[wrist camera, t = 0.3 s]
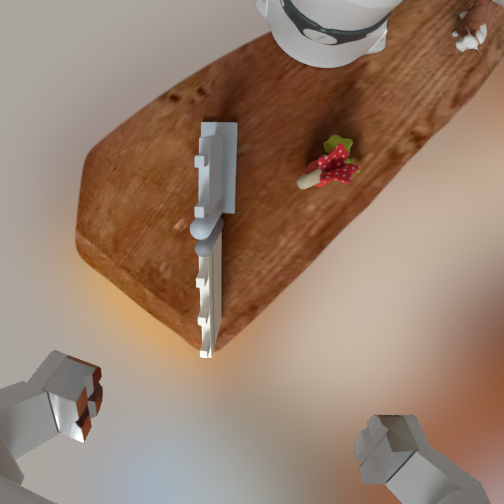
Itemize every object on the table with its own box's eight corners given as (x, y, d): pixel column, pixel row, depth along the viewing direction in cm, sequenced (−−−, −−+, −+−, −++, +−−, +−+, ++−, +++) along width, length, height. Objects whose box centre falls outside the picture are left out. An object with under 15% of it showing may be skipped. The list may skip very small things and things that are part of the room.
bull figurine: (433, 49, 35) (460, 39, 28) (465, 1, 30) (490, -12, 23) (454, 68, 36) (482, 62, 28) (483, 19, 31) (510, 10, 23)
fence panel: (211, 216, 48) (190, 246, 36) (224, 216, 47) (208, 247, 36) (212, 318, 54) (197, 366, 43) (223, 319, 54) (211, 368, 43)
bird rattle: (323, 189, 47) (374, 162, 42) (303, 226, 39) (368, 194, 33) (298, 155, 46) (349, 124, 40) (273, 184, 37) (336, 146, 32)
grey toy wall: (202, 122, 43) (176, 122, 31) (238, 122, 42) (224, 122, 31) (201, 210, 48) (178, 239, 36) (235, 212, 47) (221, 242, 36)
